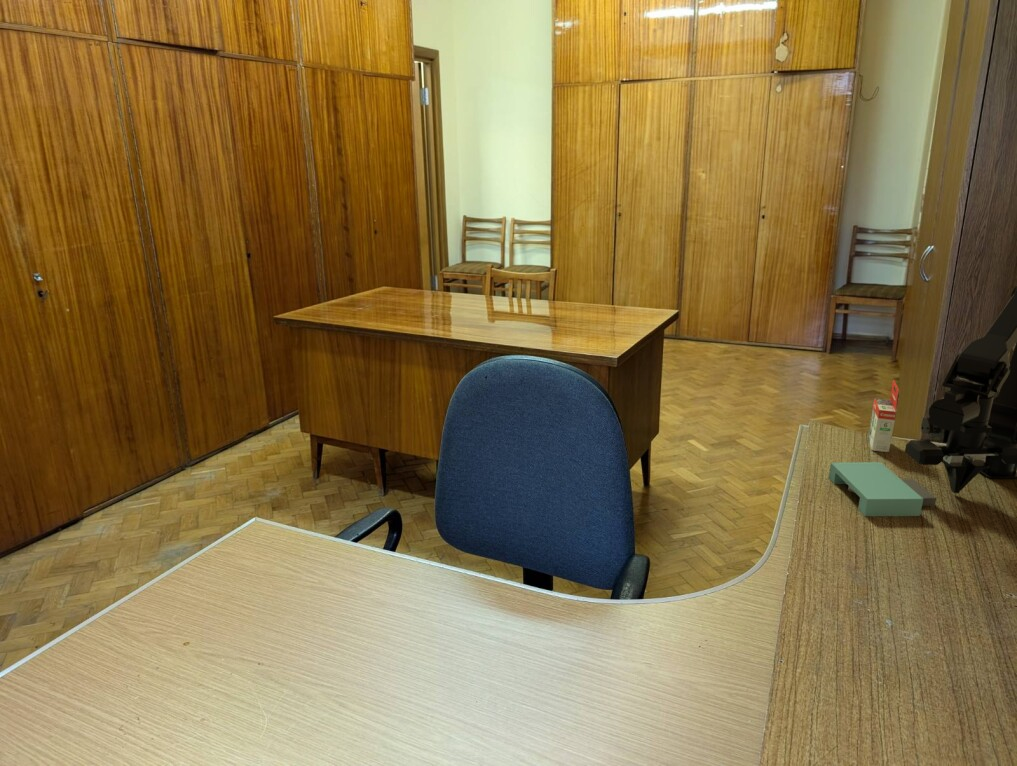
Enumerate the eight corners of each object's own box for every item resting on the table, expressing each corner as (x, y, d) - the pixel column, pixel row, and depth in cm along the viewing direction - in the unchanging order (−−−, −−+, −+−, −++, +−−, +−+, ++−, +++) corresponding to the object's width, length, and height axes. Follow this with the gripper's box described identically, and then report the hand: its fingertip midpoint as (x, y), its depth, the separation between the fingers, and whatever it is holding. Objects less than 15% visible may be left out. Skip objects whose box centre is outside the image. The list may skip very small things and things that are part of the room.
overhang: (878, 477, 139) (880, 462, 138) (919, 515, 125) (923, 498, 124) (828, 478, 139) (830, 462, 138) (864, 516, 125) (867, 499, 124)
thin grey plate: (912, 485, 136) (913, 479, 135) (934, 505, 128) (936, 498, 128) (856, 485, 136) (857, 478, 136) (875, 505, 129) (876, 498, 128)
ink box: (871, 451, 152) (881, 388, 147) (866, 437, 159) (876, 377, 154) (889, 453, 150) (900, 390, 146) (884, 439, 157) (894, 379, 153)
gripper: (993, 400, 134) (978, 472, 139) (896, 402, 135) (884, 473, 140) (1033, 422, 123) (1015, 499, 128) (928, 423, 124) (913, 500, 129)
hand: (954, 492), depth 132 cm, fingers closed
